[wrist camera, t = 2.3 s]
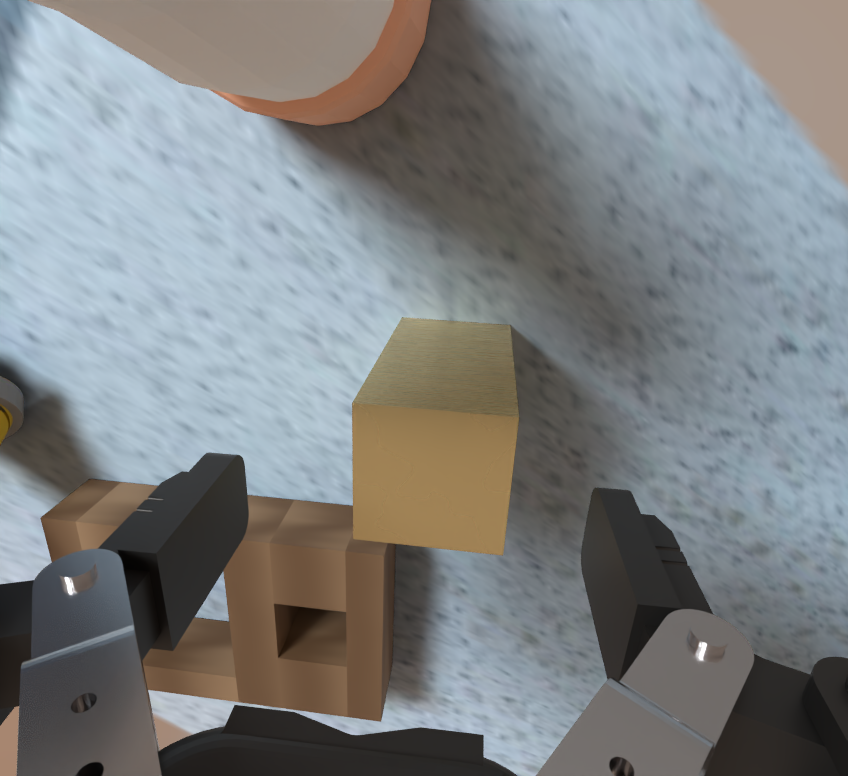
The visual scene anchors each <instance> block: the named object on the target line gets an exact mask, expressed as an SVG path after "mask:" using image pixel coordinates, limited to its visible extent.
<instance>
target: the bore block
mask: <svg viewBox="0 0 848 776" xmlns="http://www.w3.org/2000/svg"><path fill="white" fill-rule="evenodd" d="M157 487H158V486H154V485H145V484H135V483H125V482H115V481H106V480H96V479H89V480H88V481H86V482H85V483H84V484H83V485H81V486H80V487H79V488H78V489H76V490H75V491H74V492H72V493H71V494H70V495H69V496H67V497H66V498H65V499H64V500H62V501H61V502H60V503H59V504H57V505H56V506H55V507H53V508H52V509H51V510H50V511H48V512H47V513H46V514H45V515H43V516H42V517H41V522H42V526H43V530H44V533H45V537H46V541H47V545H48V549H49V553H50V557H51V561H52V562H54V561H55V560H57V559H59V558H61V557H63V556H66V555H68V554H71V553H74V552H78V551H82V550H88V549H98V548H99V546H100V545H101V544H102V543H103V542H104V541H105V540H106V539H107V538H108V537H109V536H110V535H111V534H112V533H113V532H114V531H115V530H116V529H117V528H118V527H119V526H120V525H121V524H122V523H123V522H124V521H125V520H126V519H127V518H128V517H129V516H130V515H131V514H132V513H133V512H134V511H136V510H137V508H138V506H139V505H140V504H141V503H142V502H143V501H144V500H147V499H148V496H149V495H150V494H151V493H152V492H153V491H154V490H155V489H156V488H157ZM247 497H248V508H249V519H248V525H247V530H246V533H245V535H244V538H243V540H242V541H241V543H240V544H239V546H238V548H237V549H236V551H235V553H234V554H233V556H232V557H231V559H230V561H229V562H228V564H227V565H226V567H225V569H224V570H223V571H224V579H225V588H226V597H227V605H228V614H229V622H226V621H218V620H210V619H202V618H193V620H192V622H191V623H190V625H189V626H188V628H187V630H186V631H185V633H184V635H183V636H182V638H181V639H180V641H179V643H178V644H177V646H176V647H175V649H174V651H168V650H159V649H150V650H149V652H148V653H147V655H146V656H145V658H144V659H143V661H142V662H143V667H144V672H145V677H146V682H147V687H148V690H155V691H162V692H169V693H176V694H184V695H191V696H198V697H206V698H213V699H220V700H227V701H235V702H242V703H249V704H257V705H264V706H271V707H279V708H286V709H293V710H300V711H308V712H315V713H322V714H330V715H337V716H344V717H352V718H359V719H366V720H373V721H381V719H382V714H383V709H384V704H385V699H386V694H387V689H388V684H389V679H390V674H391V669H392V657H393V621H394V585H395V550H396V544H394V543H384V542H375V541H366V540H357V539H353V506H349V505H339V504H330V503H320V502H310V501H300V500H291V499H281V498H271V497H261V496H252V495H247ZM305 607H308V608H305ZM314 608H316V609H314ZM322 609H324V610H322ZM330 610H333V611H330ZM339 611H341V612H339Z"/></svg>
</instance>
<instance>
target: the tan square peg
mask: <svg viewBox="0 0 848 776" xmlns="http://www.w3.org/2000/svg"><path fill="white" fill-rule="evenodd" d="M518 423H519V410H518V400H517V389H516V379H515V368H514V358H513V348H512V337H511V327H510V325H501V324H487V323H474V322H460V321H446V320H432V319H418V318H404V317H402V318H401V320H400V322H399V324H398V325H397V327H396V329H395V331H394V332H393V334H392V336H391V337H390V339H389V341H388V343H387V344H386V346H385V348H384V349H383V351H382V353H381V355H380V356H379V358H378V360H377V361H376V363H375V365H374V367H373V368H372V370H371V372H370V373H369V375H368V377H367V379H366V380H365V382H364V384H363V385H362V387H361V389H360V391H359V392H358V394H357V396H356V397H355V399H354V401H353V403H352V432H353V539H357V540H366V541H375V542H384V543H394V544H403V545H412V546H421V547H430V548H440V549H449V550H458V551H467V552H476V553H486V554H495V555H503V551H504V542H505V534H506V525H507V517H508V508H509V500H510V491H511V483H512V474H513V466H514V457H515V449H516V440H517V432H518Z"/></svg>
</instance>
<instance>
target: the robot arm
mask: <svg viewBox="0 0 848 776" xmlns="http://www.w3.org/2000/svg"><path fill="white" fill-rule="evenodd" d="M248 519H249V508H248V497H247V487H246V476H245V465H244V460H243V458H242V457H241V456H240V455H231V454H219V453H206V454H205V455H204V456H203V457H202V458H201V459H200V460H199V461H198V462H197V464H196V465H195V466H194V467H193V468H192V469H191V470H190V471H189V472H180V473H178V474H177V475H175V476H173V477H171V478H169V479H168V480H166V481H164V482H162V483H161V484H160V485H159V486H158V487H157V488H156V489H155V490H154V491H153V492H152V493H151V494H150V495H149V496H148V499H147V500H144V501H143V502H142V503H141V504H140V505H139V506H138V508H137V510H136V511H134V512H133V513H132V514H131V515H130V516H129V517H128V518H127V519H126V520H125V521H124V522H123V523H122V524H121V525H120V526H119V527H118V528H117V529H116V530H115V531H114V532H113V533H112V534H111V535H110V536H109V537H108V538H107V539H106V540H105V541H104V542H103V543H102V544H101V545H100V546H99V548H98V549H88V550H82V551H78V552H74V553H71V554H68V555H66V556H63V557H61V558H59V559H57V560H55V561H54V562H52V563H51V564H49V565H48V566H46V567H45V568H44V569H43V570H42V571H41V572H40V573H39V574H38V575H37V577H36V578H35V580H32V581H24V582H16V583H8V584H0V725H1V724H2V723H3V721H4V720H5V719H6V717H7V716H8V715H9V714H10V712H11V711H12V710H13V709H14V707H16V706H19V725H18V751H17V752H18V753H17V776H517V775H516V774H514V773H513V772H512V771H510V770H509V769H507V768H505V767H503V766H501V765H500V764H498V763H496V762H494V761H491V760H489V759H486V758H484V757H483V735H479V734H471V733H462V732H454V731H446V730H438V729H429V728H413V729H405V730H397V731H389V732H382V733H374V734H366V735H350V734H347V733H345V732H342V731H340V730H337V729H335V728H332V727H330V726H327V725H325V724H322V723H320V722H317V721H315V720H312V719H310V718H307V717H305V716H302V715H300V714H298V713H295V712H288V711H280V710H272V709H264V708H255V707H247V706H239V705H234V708H233V710H232V712H231V714H230V717H229V719H228V721H227V723H226V726H225V727H218V728H214V729H210V730H206V731H202V732H199V733H196V734H193V735H191V736H188V737H185V738H183V739H181V740H179V741H177V742H175V743H172V744H170V745H169V746H167V747H165V748H163V749H162V750H159V745H158V740H157V734H156V729H155V724H154V719H153V713H152V708H151V703H150V698H149V693H148V687H147V682H146V677H145V672H144V667H143V662H142V661H143V659H144V658H145V656H146V655H147V653H148V652H149V650H150V649H159V650H168V651H174V649H175V647H176V646H177V644H178V643H179V641H180V639H181V638H182V636H183V635H184V633H185V631H186V630H187V628H188V626H189V625H190V623H191V622H192V620H193V618H194V617H195V615H196V614H197V612H198V610H199V609H200V607H201V606H202V604H203V602H204V601H205V599H206V598H207V596H208V594H209V593H210V591H211V589H212V588H213V586H214V585H215V583H216V581H217V580H218V578H219V577H220V575H221V573H222V572H223V570H224V569H225V567H226V565H227V564H228V562H229V561H230V559H231V557H232V556H233V554H234V553H235V551H236V549H237V548H238V546H239V544H240V543H241V541H242V540H243V538H244V535H245V533H246V530H247V525H248ZM581 566H582V573H583V578H584V582H585V586H586V591H587V595H588V599H589V603H590V607H591V612H592V616H593V620H594V624H595V629H596V633H597V637H598V641H599V645H600V650H601V654H602V658H603V662H604V666H605V671H606V675H607V679H608V680H607V681H606V682H605V683H604V685H603V686H602V687H601V689H600V690H599V691H598V693H597V694H596V695H595V697H594V698H593V699H592V701H591V702H590V703H589V705H588V706H587V707H586V709H585V710H584V712H583V713H582V714H581V716H580V717H579V718H578V720H577V721H576V722H575V724H574V725H573V726H572V728H571V729H570V730H569V732H568V733H567V734H566V736H565V737H564V739H563V740H562V741H561V743H560V744H559V745H558V747H557V748H556V749H555V751H554V752H553V753H552V755H551V756H550V757H549V759H548V760H547V761H546V763H545V764H544V766H543V767H542V768H541V770H540V771H539V772H538V774H537V775H536V776H848V659H847V658H842V657H828V658H824V659H821V660H820V661H818V662H817V663H816V664H815V666H814V668H813V670H812V673H811V675H809V674H806V673H803V672H801V671H798V670H795V669H792V668H789V667H786V666H783V665H780V664H777V663H774V662H771V661H769V660H766V659H764V658H761V657H759V656H757V655H755V654H754V653H753V649H752V647H751V645H750V643H749V642H748V640H747V639H746V638H745V637H744V635H743V634H742V633H741V632H740V631H739V630H737V629H736V628H735V627H734V626H733V625H731V624H730V623H728V622H727V621H725V620H723V619H721V618H720V617H717V616H715V615H713V613H712V611H711V609H710V607H709V605H708V603H707V601H706V599H705V597H704V595H703V593H702V591H701V589H700V587H699V585H698V583H697V581H696V579H695V577H694V575H693V573H692V571H691V569H690V567H689V566H687V561H686V559H685V557H684V555H683V553H682V552H680V547H679V545H678V543H677V541H676V539H675V537H674V535H673V533H672V531H671V530H670V529H669V528H668V527H666V526H665V525H664V524H663V523H662V522H661V521H660V520H659V519H658V518H657V517H656V516H654V515H644V514H641V513H640V511H639V509H638V506H637V504H636V502H635V499H634V497H633V495H632V493H631V492H630V491H629V490H618V489H607V488H594V490H593V492H592V495H591V500H590V506H589V511H588V516H587V522H586V527H585V532H584V538H583V543H582V552H581Z"/></svg>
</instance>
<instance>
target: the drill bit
mask: <svg viewBox="0 0 848 776" xmlns="http://www.w3.org/2000/svg"><path fill="white" fill-rule="evenodd" d="M23 417H24V397H23V394H22V392H21V391H20V389H19V388H18V387H17V386H16V385H15V384H13V383H12V382H11V381H9V380H8V379H6V378H3V377H1V376H0V445H1V443H2V441H3V440H4V439H6V438H8V437H10V436H11V435H13V434H14V433H15V432H17V431H18V430H19V429H20V427H21V426H22V424H23Z"/></svg>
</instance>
